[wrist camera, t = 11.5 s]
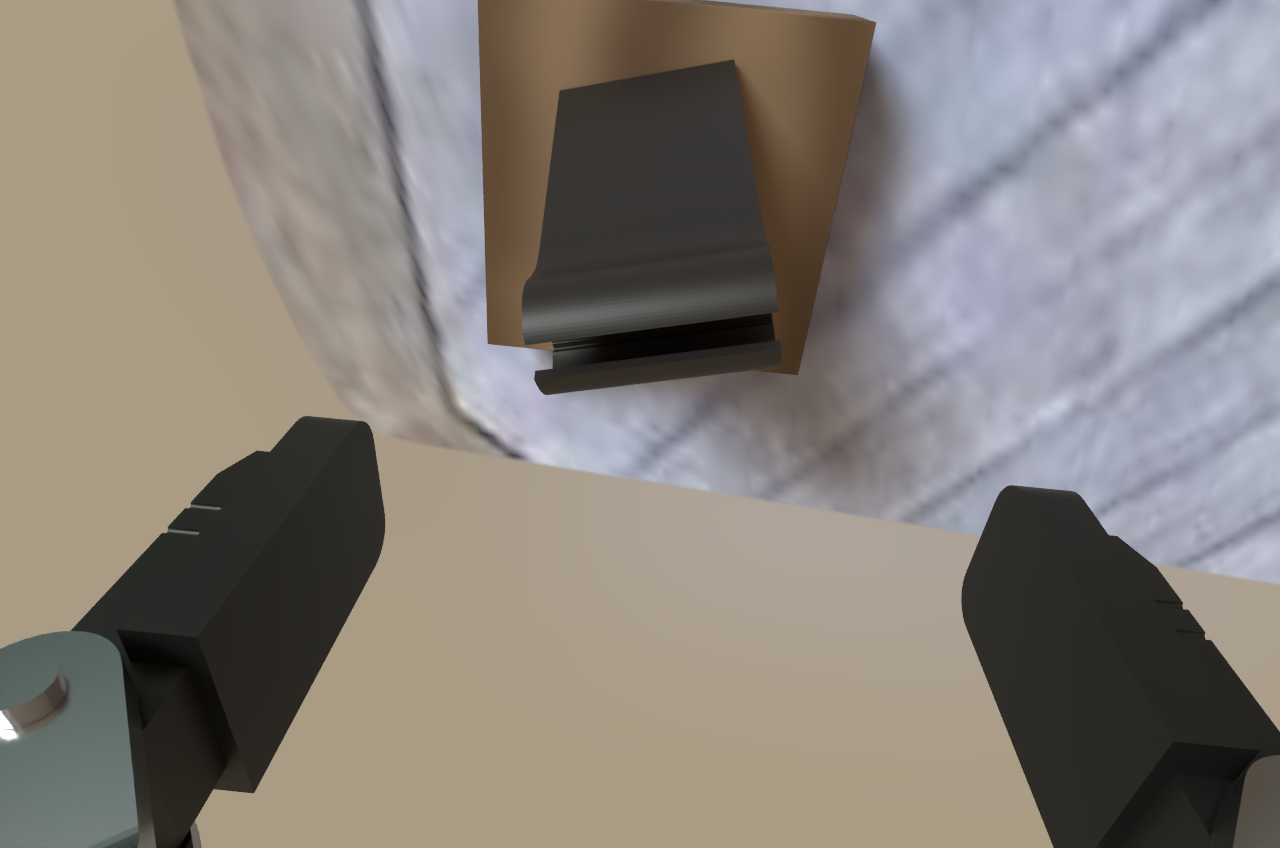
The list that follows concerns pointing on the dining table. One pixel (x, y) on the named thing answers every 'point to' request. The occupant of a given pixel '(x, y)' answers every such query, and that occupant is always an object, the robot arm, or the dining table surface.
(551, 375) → the phone stand
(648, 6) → the walnut plinth
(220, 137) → the dining table surface
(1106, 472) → the dining table surface
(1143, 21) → the dining table surface
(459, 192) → the dining table surface
